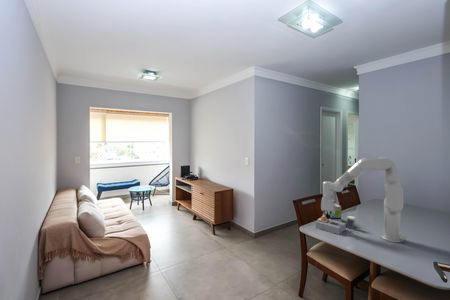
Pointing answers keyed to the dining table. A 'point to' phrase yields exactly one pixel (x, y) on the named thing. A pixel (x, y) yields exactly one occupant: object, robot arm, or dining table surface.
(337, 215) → the tea box
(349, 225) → the plug
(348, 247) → the dining table surface
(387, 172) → the robot arm
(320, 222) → the socket block
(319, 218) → the shutter
